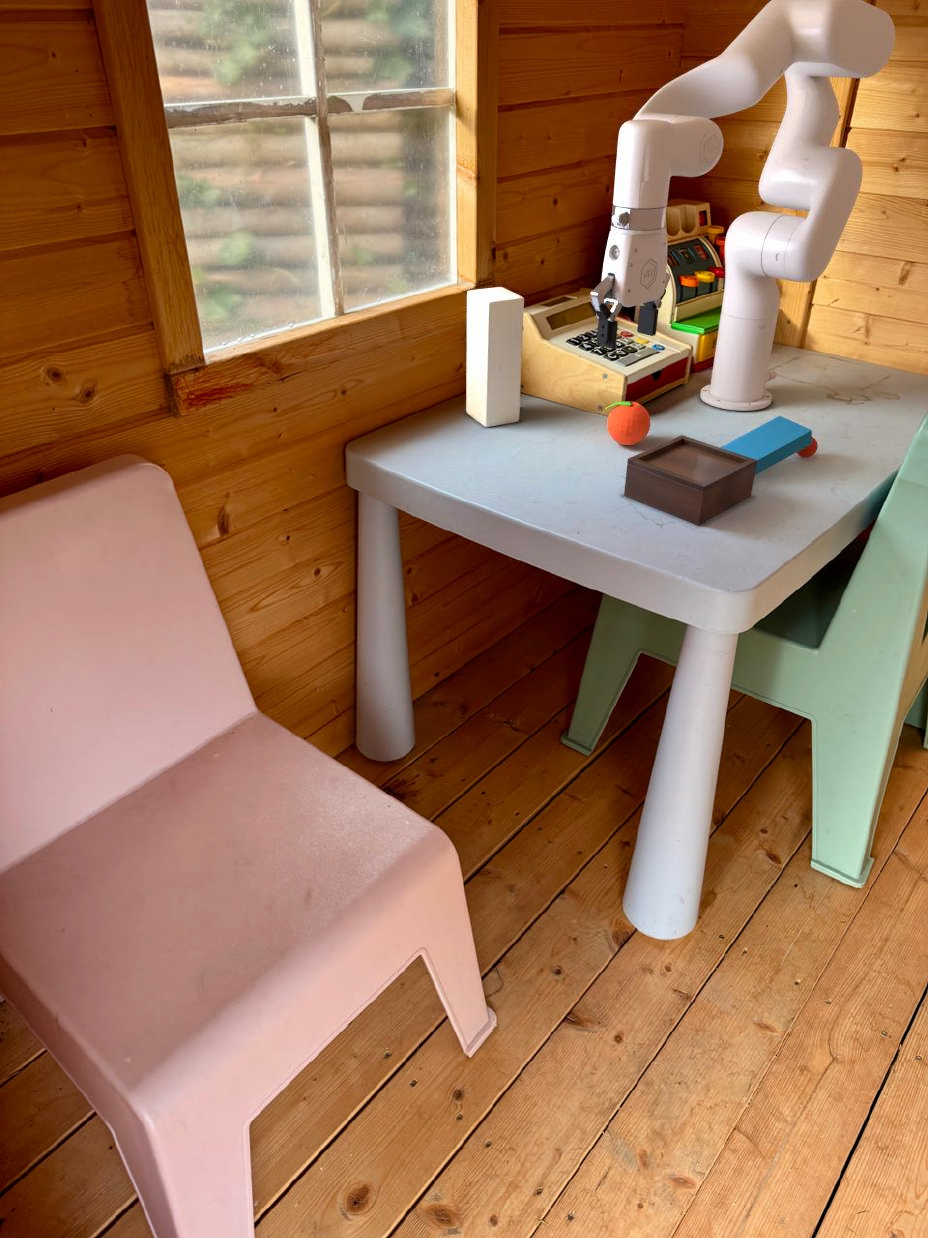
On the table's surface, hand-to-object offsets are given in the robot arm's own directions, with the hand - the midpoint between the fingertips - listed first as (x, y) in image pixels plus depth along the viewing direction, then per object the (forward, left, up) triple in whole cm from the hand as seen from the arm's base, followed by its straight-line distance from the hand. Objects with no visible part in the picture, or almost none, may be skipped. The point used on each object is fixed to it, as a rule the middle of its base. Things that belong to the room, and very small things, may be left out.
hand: (626, 339), depth 138 cm
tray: (+7, +19, -17) cm, 27 cm away
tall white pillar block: (+5, -23, -18) cm, 29 cm away
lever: (-11, +21, -18) cm, 29 cm away
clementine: (-2, 0, -18) cm, 18 cm away
